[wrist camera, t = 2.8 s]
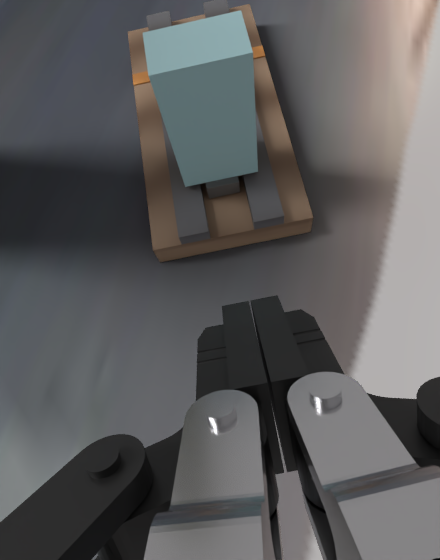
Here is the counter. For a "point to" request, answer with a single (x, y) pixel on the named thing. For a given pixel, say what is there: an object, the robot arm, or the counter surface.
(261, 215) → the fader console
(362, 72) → the counter surface
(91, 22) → the counter surface
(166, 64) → the fader tab
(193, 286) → the counter surface
